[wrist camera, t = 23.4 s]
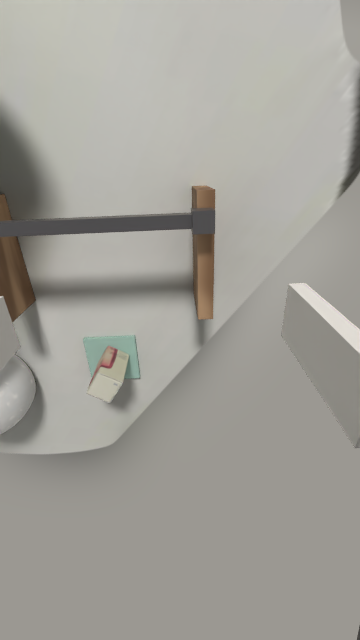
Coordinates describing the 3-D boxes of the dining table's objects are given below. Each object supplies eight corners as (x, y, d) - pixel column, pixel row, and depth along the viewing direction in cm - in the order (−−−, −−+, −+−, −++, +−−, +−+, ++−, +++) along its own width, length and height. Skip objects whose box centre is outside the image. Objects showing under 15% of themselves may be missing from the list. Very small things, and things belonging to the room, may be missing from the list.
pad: (93, 378, 55) (92, 380, 54) (83, 337, 51) (83, 339, 50) (140, 375, 55) (139, 378, 54) (135, 335, 51) (134, 337, 50)
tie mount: (23, 300, 47) (-9, 328, 39) (-10, 194, 40) (-58, 201, 32) (205, 292, 47) (212, 318, 39) (206, 185, 40) (215, 189, 32)
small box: (108, 344, 51) (97, 372, 44) (130, 354, 52) (123, 383, 45) (96, 364, 53) (85, 394, 46) (118, 373, 54) (109, 404, 47)
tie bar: (-40, 240, 33) (-54, 245, 31) (-48, 218, 32) (-64, 222, 30) (212, 229, 33) (214, 233, 31) (212, 207, 32) (215, 210, 30)
